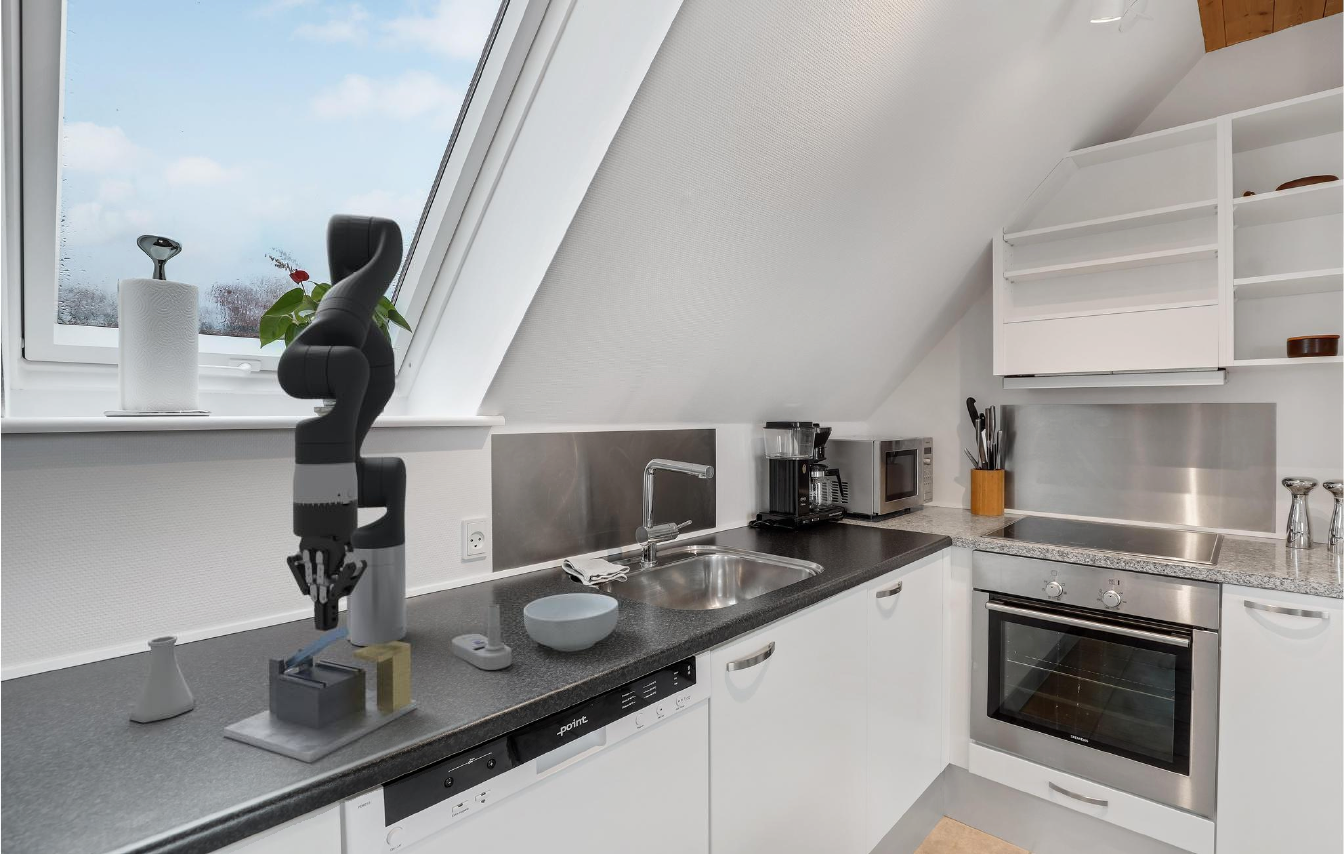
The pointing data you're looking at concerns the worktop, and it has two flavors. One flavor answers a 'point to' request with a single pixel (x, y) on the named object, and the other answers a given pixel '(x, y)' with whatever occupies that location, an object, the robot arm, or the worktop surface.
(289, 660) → the blue bar
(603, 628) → the cereal bowl
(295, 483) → the robot arm
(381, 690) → the block
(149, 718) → the flask
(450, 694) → the worktop surface
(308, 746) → the clip base
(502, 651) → the electronic device
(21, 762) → the worktop surface
